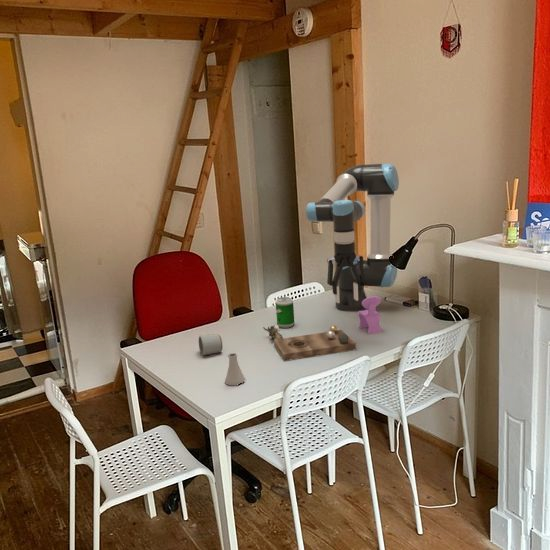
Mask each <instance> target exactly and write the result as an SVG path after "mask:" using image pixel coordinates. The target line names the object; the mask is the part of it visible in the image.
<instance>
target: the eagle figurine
mask: <svg viewBox="0 0 550 550" xmlns="http://www.w3.org/2000/svg"><path fill="white" fill-rule="evenodd" d="M262 328H263V330H264V331H266V332H267V333H268V336H269V337H268V341H270V340H272V338H274V339H273V341H274V340H276V339H283V338H284V337H283V335H282V334H281V333H280V327H279V326H278V325H277V324H274V325H272V326H271V325H270V326H267V328H266V327H264V326H263V327H262Z"/></svg>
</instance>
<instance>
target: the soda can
mask: <svg viewBox="0 0 550 550" xmlns="http://www.w3.org/2000/svg"><path fill="white" fill-rule="evenodd" d="M294 308H295V307H294V301H293V299H292V298H291V297H287V296H284V297H282V296H281V297H279V298H277V300H275V311H276V312H275V313H276V314H275V315H276V323H277V324H276V325H278V326H279V328H280V329H281V328H282V329H287V328H292V327H293V325H295V313H294V312H295V309H294Z"/></svg>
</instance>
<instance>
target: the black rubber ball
mask: <svg viewBox="0 0 550 550" xmlns="http://www.w3.org/2000/svg"><path fill="white" fill-rule="evenodd" d="M348 337H349V335H348V334H347V333H346V332H344V333H342V334H340V335H339V337H338V339H339V341H340V342H341V343H346V342H347V341H348Z"/></svg>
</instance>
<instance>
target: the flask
mask: <svg viewBox="0 0 550 550" xmlns="http://www.w3.org/2000/svg"><path fill="white" fill-rule="evenodd" d="M227 357H228V360H229V361H228V367H227V373H226V377H225V379H224V384H226V385H227V384H228V385H231V386H238V385H237V384H240V383H243V382H244V380H245V381H246V377H245V375H244V374H243V372H242V369H241V367H240V365H239V361H238V353H236V352H231V353H228V354H227ZM244 383H245V382H244ZM244 383H243V384H244ZM228 385H227V386H228ZM240 385H241V384H240Z"/></svg>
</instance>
